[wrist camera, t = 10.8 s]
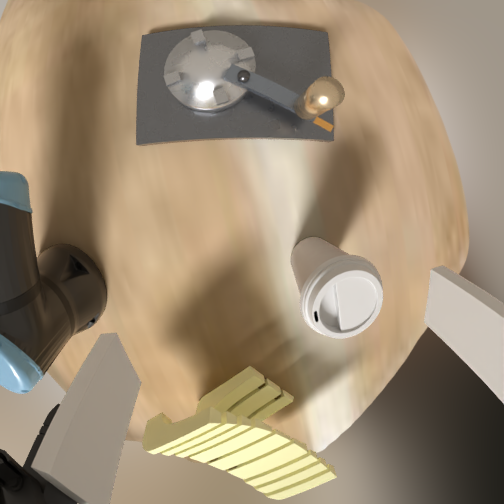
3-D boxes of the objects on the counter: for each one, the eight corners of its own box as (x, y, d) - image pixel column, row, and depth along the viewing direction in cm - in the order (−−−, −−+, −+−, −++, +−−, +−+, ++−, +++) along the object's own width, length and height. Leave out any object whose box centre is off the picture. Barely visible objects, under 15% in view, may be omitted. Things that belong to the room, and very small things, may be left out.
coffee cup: (286, 222, 39) (316, 256, 24) (347, 231, 40) (400, 266, 25) (275, 284, 41) (294, 343, 27) (333, 289, 42) (373, 344, 28)
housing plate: (141, 145, 34) (136, 145, 32) (146, 40, 29) (141, 34, 27) (328, 141, 35) (334, 140, 33) (323, 37, 30) (327, 32, 28)
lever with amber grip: (155, 95, 30) (120, 67, 18) (194, 30, 27) (180, -17, 16) (290, 154, 34) (317, 150, 22) (325, 87, 31) (363, 58, 19)
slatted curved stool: (158, 381, 46) (138, 455, 30) (215, 338, 44) (209, 423, 27) (261, 442, 54) (269, 503, 38) (316, 412, 52) (336, 477, 35)
